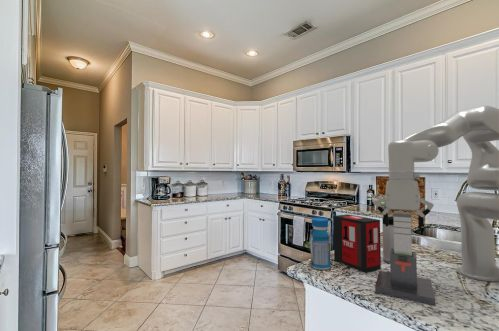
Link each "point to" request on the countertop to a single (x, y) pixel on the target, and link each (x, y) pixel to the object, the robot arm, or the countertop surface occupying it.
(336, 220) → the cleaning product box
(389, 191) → the robot arm
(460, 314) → the countertop surface
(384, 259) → the travel mug
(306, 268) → the countertop surface
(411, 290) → the stand
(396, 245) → the post
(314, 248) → the beverage bottle
